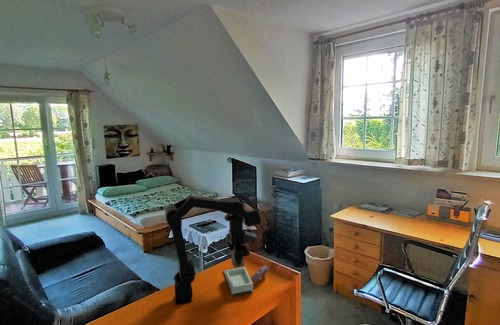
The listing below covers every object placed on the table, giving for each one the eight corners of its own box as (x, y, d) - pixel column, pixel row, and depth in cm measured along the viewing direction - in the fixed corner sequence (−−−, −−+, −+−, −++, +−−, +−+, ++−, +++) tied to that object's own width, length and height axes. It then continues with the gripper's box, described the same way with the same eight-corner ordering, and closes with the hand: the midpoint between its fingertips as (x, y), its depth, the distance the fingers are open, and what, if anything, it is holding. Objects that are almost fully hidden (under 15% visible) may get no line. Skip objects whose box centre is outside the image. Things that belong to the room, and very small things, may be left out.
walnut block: (234, 268, 124) (233, 255, 123) (231, 263, 129) (231, 250, 127) (244, 266, 125) (243, 253, 124) (241, 261, 130) (241, 248, 129)
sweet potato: (255, 287, 130) (261, 276, 127) (247, 280, 131) (252, 269, 129) (266, 277, 138) (272, 266, 135) (259, 270, 139) (264, 260, 137)
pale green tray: (232, 295, 121) (231, 287, 120) (226, 277, 134) (225, 270, 133) (253, 291, 123) (253, 283, 123) (245, 274, 136) (244, 267, 135)
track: (232, 296, 121) (232, 295, 121) (223, 271, 140) (223, 270, 140) (253, 292, 124) (253, 290, 124) (241, 268, 143) (241, 267, 142)
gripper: (261, 234, 117) (262, 270, 120) (248, 218, 135) (250, 249, 138) (234, 238, 114) (235, 275, 117) (225, 221, 132) (226, 253, 135)
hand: (237, 262), depth 127 cm, fingers closed on walnut block, 4 cm apart
